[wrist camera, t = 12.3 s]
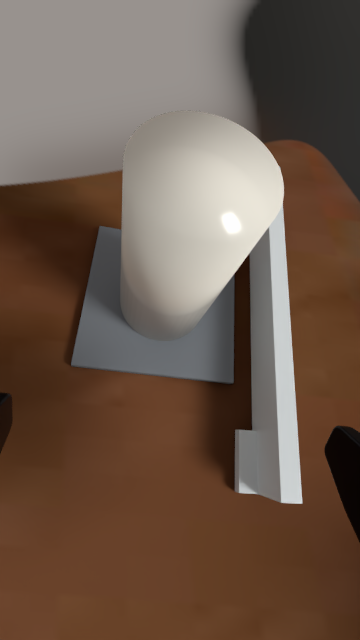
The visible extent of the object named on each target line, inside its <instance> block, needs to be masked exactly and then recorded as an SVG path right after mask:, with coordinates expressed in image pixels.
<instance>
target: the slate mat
mask: <svg viewBox="0 0 360 640" xmlns="http://www.w3.org/2000/svg"><path fill="white" fill-rule="evenodd" d="M121 235H122V230H120V229H114V228H109V227H103V226H100V227H99V232H98V236H97V241H96V246H95V251H94V256H93V261H92V265H91V270H90V275H89V280H88V285H87V289H86V294H85V299H84V304H83V309H82V314H81V318H80V323H79V328H78V333H77V338H76V342H75V347H74V352H73V357H72V362H71V366H73V367H82V368H91V369H100V370H109V371H118V372H127V373H136V374H145V375H154V376H163V377H172V378H181V379H190V380H199V381H208V382H217V383H225V384H233V383H234V275H233V276H232V278H231V279H230V280H229V282H228V283H227V284H226V286H225V287H224V288H223V290H222V291H221V293H220V294H219V295H218V297H217V298H216V299H215V301H214V302H213V303H212V305H211V306H210V307H209V309H208V310H207V312H206V313H205V314H204V316H203V317H202V318H201V320H200V321H199V322H198V324H197V325H196V326H195V328H194V329H193V330H192V331H191V332H189V333H188V334H187V335H185V336H183V337H181V338H179V339H176V340H171V341H157V340H152V339H149V338H146V337H144V336H142V335H141V334H139V333H137V332H136V331H135V330H134V329H133V328H132V327H131V326H130V325H129V324H128V323H127V321H126V320H125V318H124V316H123V313H122V310H121V306H120V281H121Z"/></svg>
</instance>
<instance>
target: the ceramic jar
mask: <svg viewBox="0 0 360 640" xmlns="http://www.w3.org/2000/svg"><path fill="white" fill-rule="evenodd" d="M283 197H284V184H283V178H282V175H281V171H280V169H279V166H278V164H277V162H276V160H275V159H274V157H273V155H272V154H271V153H270V151H269V150H268V149H267V147H266V146H265V145H264V144H263V143H262V142H261V141H260V140H259V139H258V138H257V137H255V136H254V135H253V134H252V133H250V132H249V131H248V130H246V129H245V128H243V127H242V126H240V125H238V124H236V123H234V122H232V121H230V120H228V119H226V118H223V117H220V116H217V115H214V114H210V113H205V112H199V111H175V112H169V113H164V114H161V115H159V116H156V117H153V118H151V119H150V120H148V121H146V122H145V123H144V124H142V125H141V126H139V127H138V128H137V130H135V131H134V133H133V134H132V136H131V137H130V138H129V140H128V143H127V145H126V147H125V151H124V157H123V189H122V235H121V281H120V306H121V310H122V313H123V316H124V318H125V320H126V321H127V323H128V324H129V325H130V326H131V327H132V328H133V329H134V330H135V331H136V332H137V333H139V334H141V335H142V336H144V337H146V338H149V339H152V340H157V341H171V340H176V339H179V338H181V337H183V336H185V335H187V334H188V333H189V332H191V331H192V330H193V329H194V328H195V326H196V325H197V324H198V322H199V321H200V320H201V318H202V317H203V316H204V314H205V313H206V312H207V310H208V309H209V307H210V306H211V305H212V303H213V302H214V301H215V299H216V298H217V297H218V295H219V294H220V293H221V291H222V290H223V288H224V287H225V286H226V284H227V283H228V282H229V280H230V279H231V278H232V276H233V275H234V273H235V272H236V271H237V269H238V268H239V267H240V265H241V264H242V263H243V261H244V260H245V259H246V257H247V256H248V254H249V253H250V252H251V250H252V249H253V248H254V246H255V245H256V244H257V242H258V241H259V240H260V238H261V237H262V235H263V234H264V233H265V231H266V230H267V229H268V227H269V226H270V225H271V223H272V222H273V221H274V219H275V218H276V216H277V214H278V213H279V211H280V208H281V206H282V203H283Z"/></svg>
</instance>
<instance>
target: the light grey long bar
mask: <svg viewBox="0 0 360 640" xmlns="http://www.w3.org/2000/svg"><path fill="white" fill-rule="evenodd" d="M279 169H280V166H279ZM250 317H251V388H252V431H250V430H235V491H236V492H238V493H249V494H259V495H262V496H265V497H267V498H270V499H272V500H275V501H278V502H280V503H295V504H302V491H301V475H300V460H299V445H298V430H297V415H296V399H295V384H294V369H293V354H292V339H291V323H290V308H289V293H288V278H287V263H286V247H285V232H284V217H283V203H282V206H281V208H280V211H279V213H278V214H277V216H276V218H275V219H274V221H273V222H272V223H271V225H270V226H269V227H268V229H267V230H266V231H265V233H264V234H263V235H262V237H261V238H260V240H259V241H258V242H257V244H256V245H255V246H254V248H253V249H252V250H251V252H250Z"/></svg>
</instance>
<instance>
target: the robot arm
mask: <svg viewBox="0 0 360 640" xmlns="http://www.w3.org/2000/svg"><path fill="white" fill-rule="evenodd" d="M11 425H12V397H11V395H10V394H9V393H1V392H0V453H1V451H2V448H3V446H4V443H5V441H6V438H7V436H8V434H9V431H10V428H11ZM325 456H326V459H327V462H328V464H329V467H330V470H331V473H332V476H333V478H334V481H335V484H336V487H337V490H338V493H339V495H340V498H341V501H342V503H343V506H344V509H345V511H346V513H347V516H348V518H349V520H350V522H351V524H352V527H353V529H354V531H355V533H356V535H357V538H358V540H359V542H360V433H359V432H358V431H356V430H355V429H353V428H351V427H347V426H336V427H335V428H334V429H333V431H332V433H331V435H330V437H329V439H328V441H327V443H326V445H325Z"/></svg>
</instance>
